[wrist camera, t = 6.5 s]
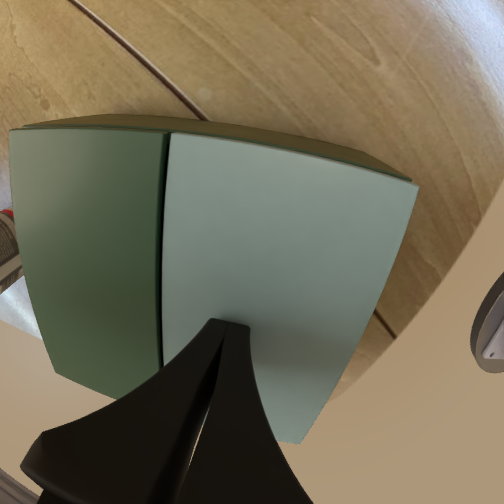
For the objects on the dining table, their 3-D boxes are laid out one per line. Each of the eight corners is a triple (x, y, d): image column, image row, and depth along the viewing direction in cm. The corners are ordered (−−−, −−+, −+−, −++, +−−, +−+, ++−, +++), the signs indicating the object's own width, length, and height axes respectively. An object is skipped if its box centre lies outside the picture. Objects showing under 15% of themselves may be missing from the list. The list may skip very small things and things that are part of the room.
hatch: (415, 183, 7) (420, 186, 7) (300, 438, 13) (300, 444, 13) (175, 132, 8) (170, 133, 8) (169, 408, 14) (167, 414, 13)
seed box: (364, 152, 14) (423, 185, 7) (303, 351, 19) (301, 445, 13) (105, 114, 14) (7, 128, 8) (109, 304, 20) (54, 372, 13)
